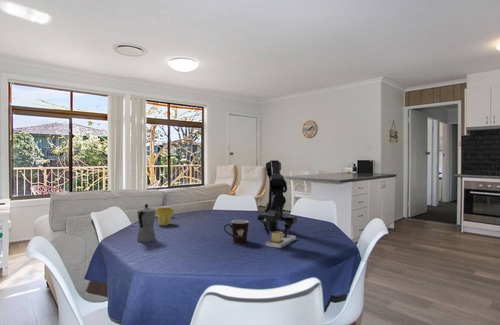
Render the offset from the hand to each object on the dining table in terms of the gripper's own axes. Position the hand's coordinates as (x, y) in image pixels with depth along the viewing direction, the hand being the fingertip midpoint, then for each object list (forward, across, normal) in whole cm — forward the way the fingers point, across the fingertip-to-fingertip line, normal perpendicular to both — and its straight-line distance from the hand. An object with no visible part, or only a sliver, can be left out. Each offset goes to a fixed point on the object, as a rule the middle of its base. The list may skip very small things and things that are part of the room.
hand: (276, 236), depth 140 cm
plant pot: (+4, -80, +3) cm, 80 cm away
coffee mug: (+4, -20, -5) cm, 21 cm away
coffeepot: (+4, -60, -28) cm, 66 cm away
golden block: (+4, 0, 0) cm, 4 cm away
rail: (+4, 0, +5) cm, 7 cm away
